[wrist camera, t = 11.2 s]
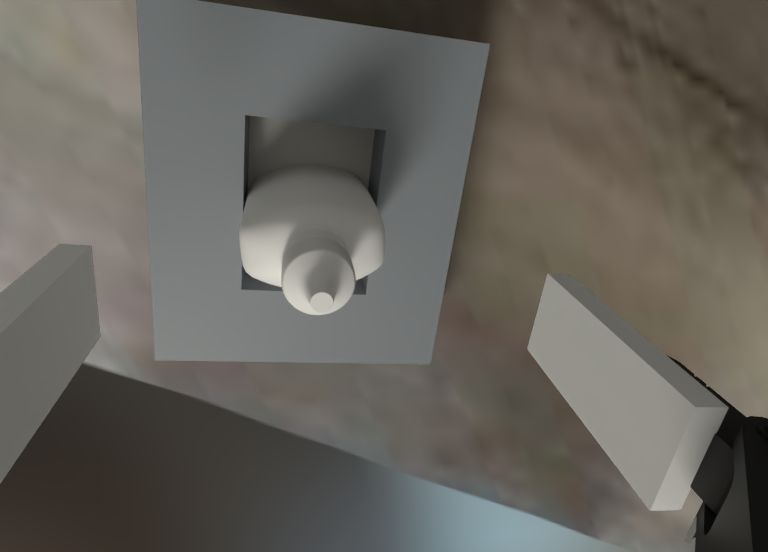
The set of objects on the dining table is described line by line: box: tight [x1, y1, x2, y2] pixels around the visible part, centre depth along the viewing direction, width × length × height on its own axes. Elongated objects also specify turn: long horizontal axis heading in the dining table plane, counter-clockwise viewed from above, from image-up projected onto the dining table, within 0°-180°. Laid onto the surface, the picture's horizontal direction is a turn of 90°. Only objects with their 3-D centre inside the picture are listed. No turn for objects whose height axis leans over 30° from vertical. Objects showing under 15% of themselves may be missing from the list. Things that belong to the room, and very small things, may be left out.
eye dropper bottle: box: [239, 164, 385, 315], centre depth 21 cm, size 4×6×12 cm
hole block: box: [136, 0, 490, 364], centre depth 25 cm, size 16×14×4 cm
